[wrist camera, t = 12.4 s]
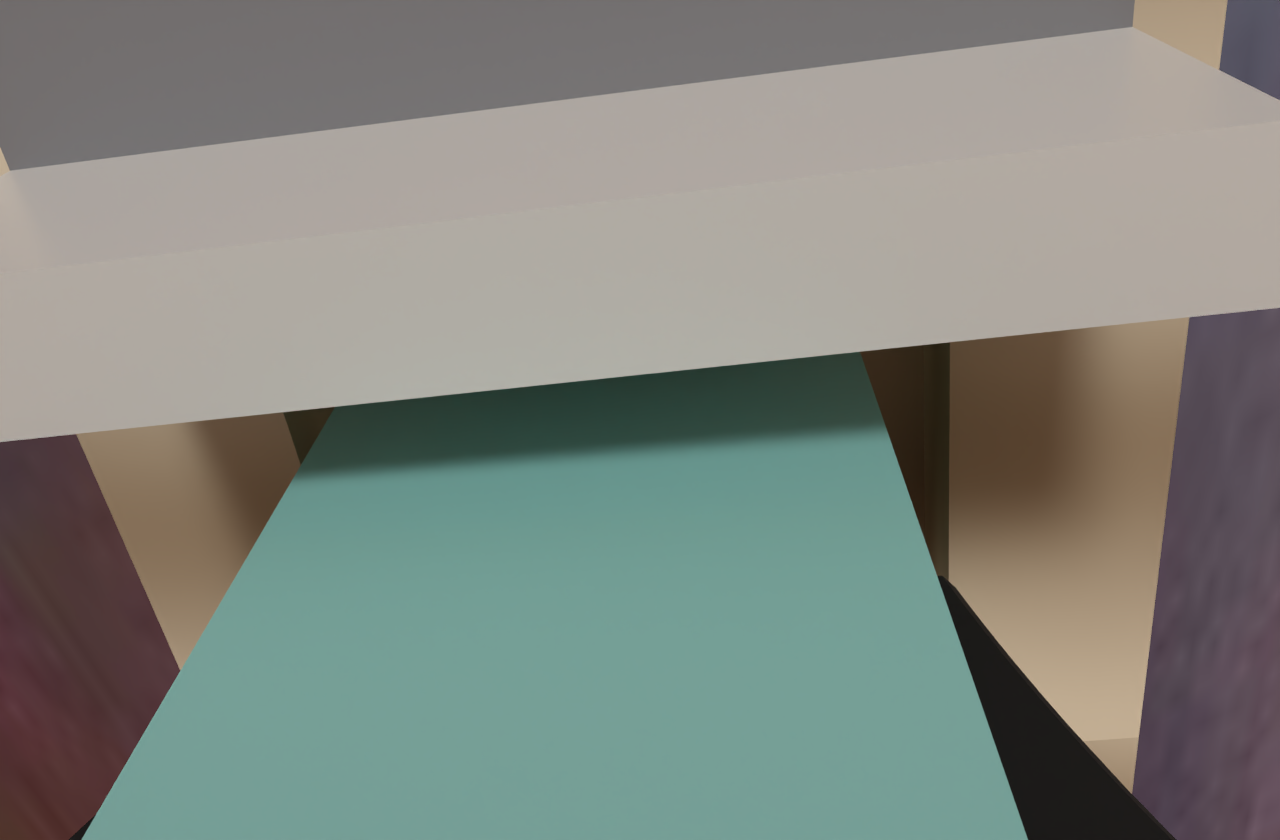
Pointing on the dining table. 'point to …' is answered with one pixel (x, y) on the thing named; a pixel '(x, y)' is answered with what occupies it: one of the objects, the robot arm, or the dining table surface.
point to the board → (926, 453)
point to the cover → (589, 192)
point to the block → (583, 631)
